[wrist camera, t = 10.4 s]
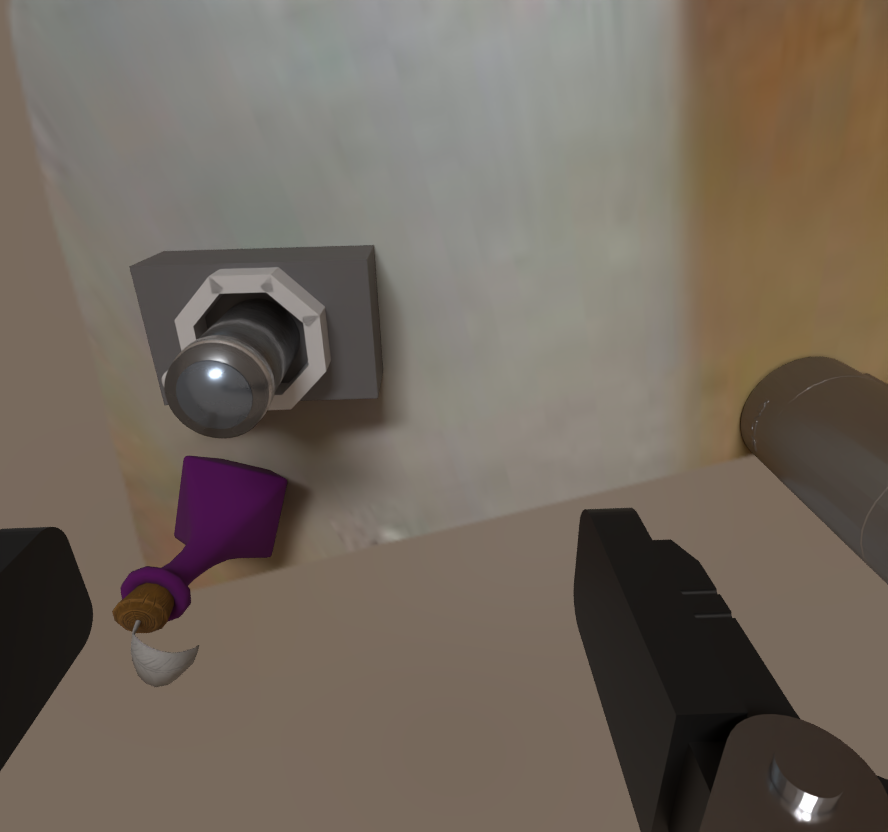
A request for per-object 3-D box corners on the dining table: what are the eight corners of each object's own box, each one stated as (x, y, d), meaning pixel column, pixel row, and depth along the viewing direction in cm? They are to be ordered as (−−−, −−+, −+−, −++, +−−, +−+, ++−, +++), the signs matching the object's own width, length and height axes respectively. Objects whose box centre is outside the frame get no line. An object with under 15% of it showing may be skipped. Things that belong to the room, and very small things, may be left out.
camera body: (373, 245, 39) (363, 266, 33) (383, 370, 43) (375, 411, 37) (163, 251, 39) (113, 273, 33) (192, 376, 43) (151, 418, 37)
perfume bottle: (189, 512, 48) (68, 704, 32) (199, 434, 45) (72, 602, 29) (280, 532, 49) (208, 727, 33) (296, 457, 46) (226, 632, 30)
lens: (295, 294, 36) (256, 344, 27) (306, 371, 38) (274, 438, 30) (212, 298, 36) (148, 349, 27) (229, 375, 38) (174, 443, 29)
